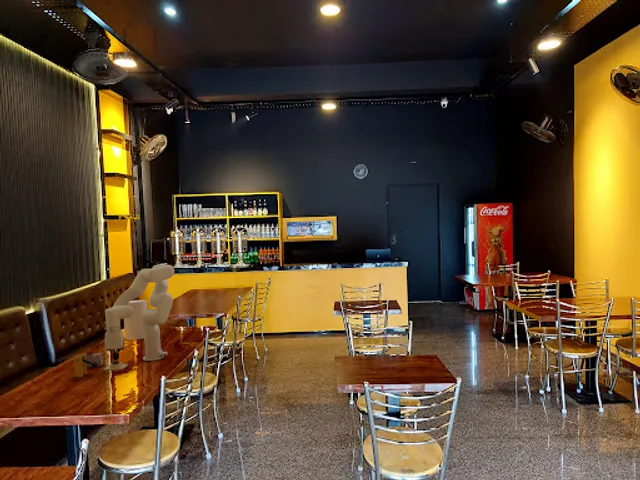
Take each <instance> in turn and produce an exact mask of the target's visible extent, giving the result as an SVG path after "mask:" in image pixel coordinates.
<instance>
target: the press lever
mask: <svg viewBox="0 0 640 480" xmlns="http://www.w3.org/2000/svg"><path fill="white" fill-rule="evenodd" d="M78 355H79V356H80V354H78ZM83 358H84V357H82V360H83V362H86V363H88V364H91V365H92V367H91V368H94V369H96V368H98V367H99V366H98V363H97V362H93V363H92V362H90V361H88V360H85V359H83ZM97 366H98V367H97Z"/></svg>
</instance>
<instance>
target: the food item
mask: <svg viewBox="0 0 640 480" xmlns="http://www.w3.org/2000/svg"><path fill="white" fill-rule="evenodd" d="M84 354H85V355H86V360H88V361H90V362H92V363H93V362H97V363H98V366H97V367H96V368H99V367H101V366H104V364H103V356H104V352H99V353H98V352H97V353H96V352H95V351H92V350H91V351H88V352H87V353H84ZM86 368H93V367H92V365H91V364H88V363H86Z"/></svg>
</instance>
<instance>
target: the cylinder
mask: <svg viewBox="0 0 640 480" xmlns="http://www.w3.org/2000/svg"><path fill="white" fill-rule="evenodd" d="M147 304H148V303H147V299H141V300H139V299H138V300H131V301H130V302H129V303H128V304H127V306H130V307H132V308H133V310H134V313H133V315H132V316H131V317H129V318H124V319H123V325H124V340H128V341H129V340H130V341H135V340H136V341H137V340H142V339H143V340H144V328H143V323H142V319H141V315H142V313H143V311H145V310H146V309H148V305H147Z"/></svg>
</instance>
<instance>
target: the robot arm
mask: <svg viewBox="0 0 640 480" xmlns="http://www.w3.org/2000/svg"><path fill="white" fill-rule="evenodd" d="M174 274H175V268H174V267H173V266H172V265H170V264H155V265H153V266H152V267H151V268H142V269H141V270H139V272H138V273H137V275H136V276H135V278H134V280H133V282H132V283H131V285H130V286H129V288H128V289H126V290H125V291H124V292H123V293H121V294H120V295H119V296H118V297H117V299H116V300H115V302H114V303H113V305H112V307H109V308H106V309H105V311H104V314H105V315H104V316H105V326H106V327H104V328H103V330H104V331H105V333H104V348H105V351H106V352H110V353H111V354H112V359H113V361H115V360H119V359H120V352H121V351H123V350H125V349H126V347H125V335H124V333H123V330H122V329H121V319H122V320H124V318H129V317H131V316H132V315H133V313H134V310H133V308H132V307H130V306H127V304H128V303H129V302H130V301H134V299H137V298H139V297H141V296H142V295H143V294H144V292H145V291H146V289H147V287H148V285H149V284H150V283H154V286H153V289H152V292H151V294H150V297H149V301H148V303H149V306H150V307H153V308H147V309H146V310H145V311H143V313H142V315H141V319H142V323H143V328H144V338H143V340H144V341H143V342H144V354H145V355H144V356H143V357H142V361H145V362H154V361H160V360H163V359H164V358H165V357H166V356H168V355H169V353H168V351H163V349H162V345H161V344H162V343H161V329H160V326H162V325H164V324H166V323H167V320H168V319H169V315H170V313H171V310H172V307H173V304H174V298H173V296H172V295H171V294H170V293H168V290H169V281H168V280H169V279H172V277H173V276H174Z"/></svg>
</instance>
